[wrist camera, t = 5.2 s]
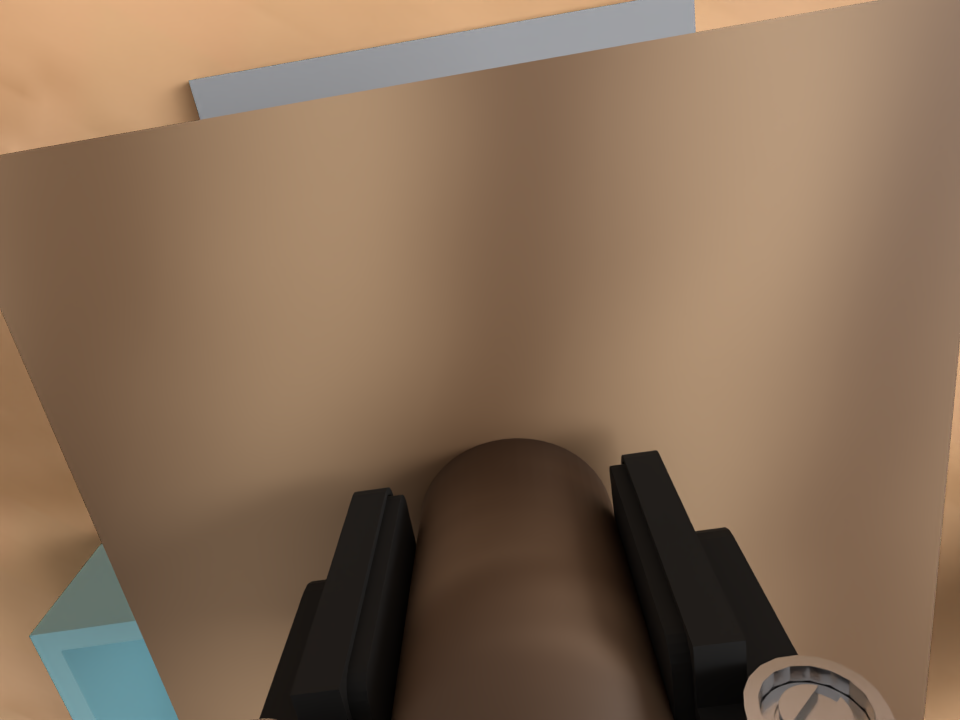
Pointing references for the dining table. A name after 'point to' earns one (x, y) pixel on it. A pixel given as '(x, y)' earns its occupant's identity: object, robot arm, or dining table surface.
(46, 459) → the dining table surface
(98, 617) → the open box
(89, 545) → the dining table surface
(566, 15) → the mat
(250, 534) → the lid
